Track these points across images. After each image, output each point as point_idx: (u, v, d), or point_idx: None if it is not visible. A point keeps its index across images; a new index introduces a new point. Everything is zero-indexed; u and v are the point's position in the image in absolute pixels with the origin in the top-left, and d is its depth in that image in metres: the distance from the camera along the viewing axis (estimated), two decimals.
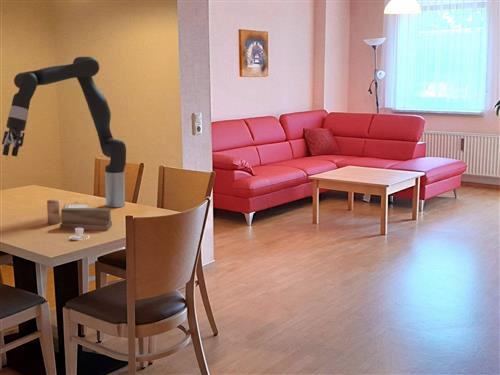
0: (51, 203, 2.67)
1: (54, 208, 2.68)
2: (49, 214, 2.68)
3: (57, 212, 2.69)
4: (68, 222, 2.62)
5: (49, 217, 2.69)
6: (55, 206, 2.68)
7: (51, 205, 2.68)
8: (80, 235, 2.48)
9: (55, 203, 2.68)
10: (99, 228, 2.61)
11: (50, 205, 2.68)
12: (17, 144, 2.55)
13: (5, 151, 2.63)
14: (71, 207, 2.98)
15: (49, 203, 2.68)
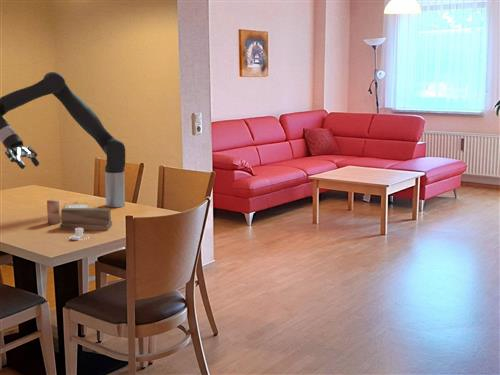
0: (51, 203, 2.67)
1: (54, 208, 2.68)
2: (49, 214, 2.68)
3: (57, 212, 2.69)
4: (68, 222, 2.62)
5: (49, 217, 2.69)
6: (55, 206, 2.68)
7: (51, 205, 2.68)
8: (80, 235, 2.48)
9: (55, 203, 2.68)
10: (99, 228, 2.61)
11: (50, 205, 2.68)
12: (11, 161, 2.66)
13: (34, 163, 2.75)
14: (71, 207, 2.98)
15: (49, 203, 2.68)
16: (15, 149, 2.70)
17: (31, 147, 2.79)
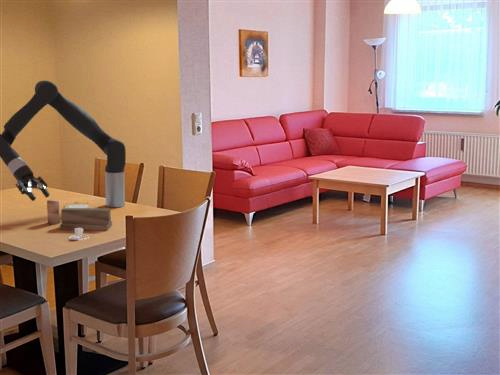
0: (51, 203, 2.67)
1: (54, 208, 2.68)
2: (49, 214, 2.68)
3: (57, 212, 2.69)
4: (68, 222, 2.62)
5: (49, 217, 2.69)
6: (55, 206, 2.68)
7: (51, 205, 2.68)
8: (80, 235, 2.48)
9: (55, 203, 2.68)
10: (99, 228, 2.61)
11: (50, 205, 2.68)
12: (22, 193, 2.67)
13: (45, 194, 2.76)
14: (72, 207, 2.98)
15: (49, 203, 2.68)
16: (26, 181, 2.71)
17: (41, 178, 2.79)
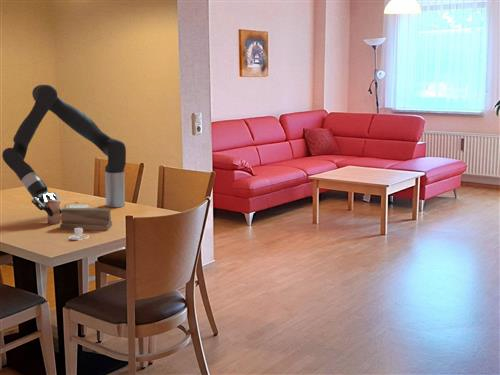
0: (51, 203, 2.67)
1: (54, 208, 2.68)
2: None
3: (57, 212, 2.69)
4: (68, 222, 2.62)
5: (49, 217, 2.69)
6: (55, 206, 2.68)
7: (51, 205, 2.68)
8: (79, 235, 2.48)
9: (55, 203, 2.68)
10: (99, 228, 2.61)
11: (50, 205, 2.68)
12: (40, 209, 2.66)
13: None
14: (72, 207, 2.98)
15: (49, 203, 2.68)
16: (40, 196, 2.69)
17: (56, 194, 2.77)
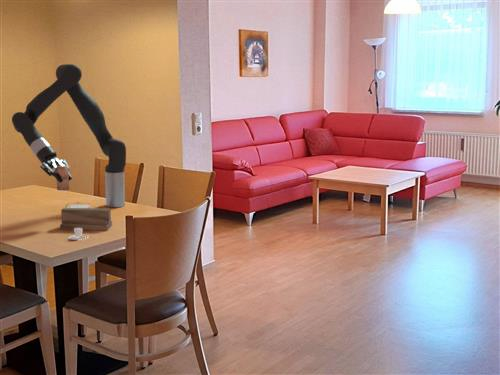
0: (60, 169, 2.62)
1: (63, 174, 2.63)
2: None
3: (66, 178, 2.65)
4: (68, 222, 2.62)
5: (58, 183, 2.64)
6: (64, 172, 2.63)
7: (60, 171, 2.63)
8: (79, 235, 2.48)
9: (64, 169, 2.63)
10: (99, 228, 2.61)
11: (59, 171, 2.63)
12: (49, 175, 2.61)
13: None
14: (73, 207, 2.98)
15: (58, 169, 2.63)
16: (49, 162, 2.64)
17: (65, 161, 2.72)
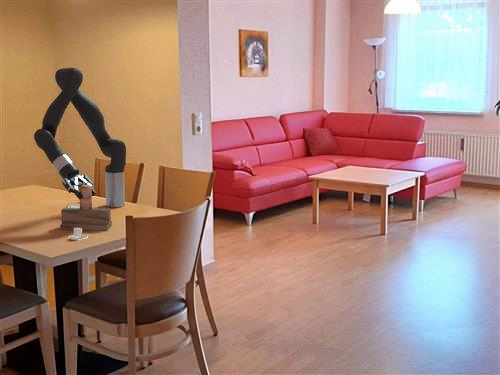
0: (84, 188, 2.60)
1: (87, 194, 2.60)
2: (82, 200, 2.61)
3: (89, 198, 2.62)
4: (68, 222, 2.62)
5: (81, 203, 2.61)
6: (87, 192, 2.60)
7: (84, 190, 2.60)
8: (79, 235, 2.48)
9: (88, 188, 2.60)
10: (99, 228, 2.61)
11: (83, 190, 2.60)
12: (69, 192, 2.57)
13: None
14: (74, 207, 2.98)
15: (81, 188, 2.60)
16: (72, 179, 2.61)
17: (87, 176, 2.69)
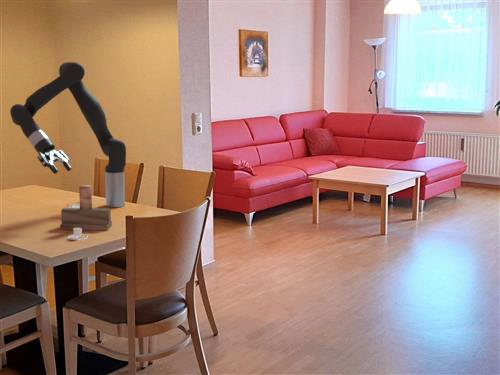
0: (84, 188, 2.60)
1: (87, 194, 2.60)
2: (82, 200, 2.61)
3: (89, 198, 2.62)
4: (68, 222, 2.62)
5: (81, 203, 2.61)
6: (87, 192, 2.60)
7: (84, 190, 2.60)
8: (78, 235, 2.48)
9: (88, 188, 2.60)
10: (99, 228, 2.61)
11: (82, 190, 2.60)
12: (44, 166, 2.60)
13: (66, 167, 2.69)
14: (75, 207, 2.98)
15: (81, 188, 2.60)
16: (47, 153, 2.64)
17: None
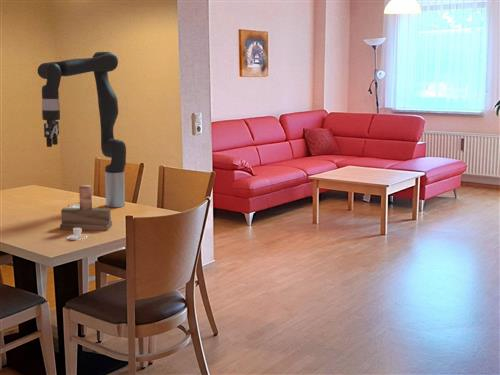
0: (84, 188, 2.60)
1: (87, 194, 2.60)
2: (82, 200, 2.61)
3: (89, 198, 2.62)
4: (68, 222, 2.62)
5: (81, 203, 2.61)
6: (87, 192, 2.60)
7: (84, 190, 2.60)
8: (78, 235, 2.48)
9: (88, 188, 2.60)
10: (99, 228, 2.61)
11: (82, 190, 2.60)
12: (44, 136, 2.66)
13: (54, 141, 2.78)
14: (75, 207, 2.98)
15: (81, 188, 2.60)
16: (52, 125, 2.70)
17: (58, 123, 2.79)
